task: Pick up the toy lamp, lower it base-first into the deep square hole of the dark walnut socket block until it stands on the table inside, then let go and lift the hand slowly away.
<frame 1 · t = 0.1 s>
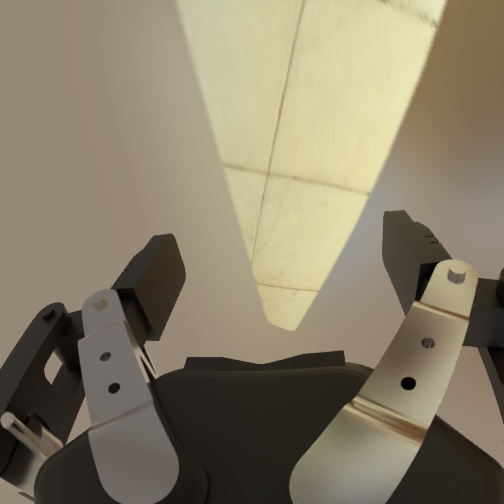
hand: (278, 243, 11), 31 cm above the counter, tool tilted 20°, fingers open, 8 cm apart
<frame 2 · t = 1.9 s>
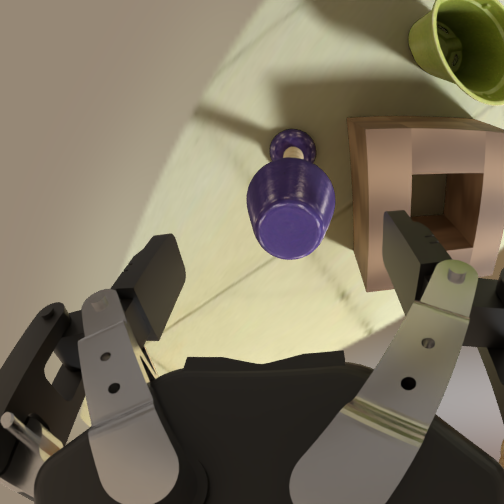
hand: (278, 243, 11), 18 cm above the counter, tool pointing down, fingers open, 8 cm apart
toy lamp: (290, 148, 27), on the counter
socket block: (417, 184, 27), on the counter
plant pot: (435, 48, 20), on the counter
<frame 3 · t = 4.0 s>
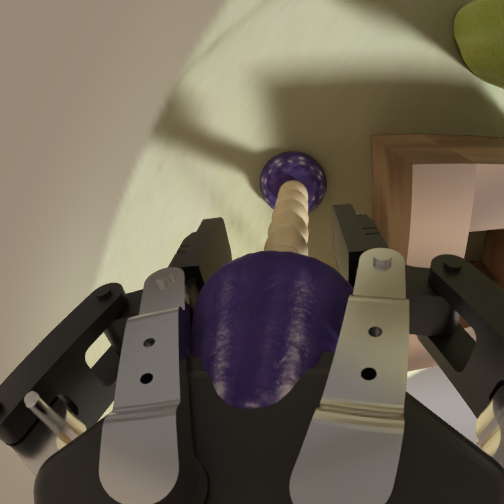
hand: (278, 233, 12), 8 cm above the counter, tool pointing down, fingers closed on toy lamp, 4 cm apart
toy lamp: (289, 178, 19), on the counter, touching gripper
socket block: (455, 226, 19), on the counter
plant pot: (485, 44, 12), on the counter
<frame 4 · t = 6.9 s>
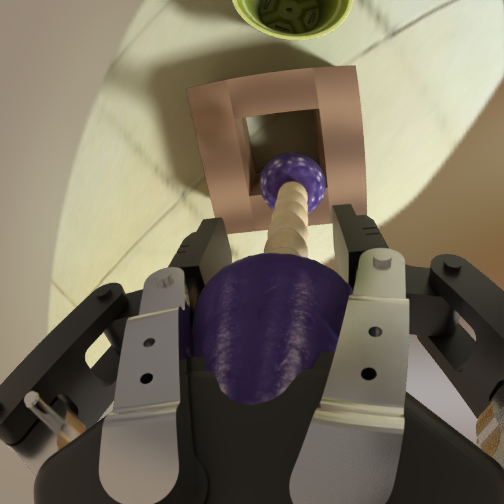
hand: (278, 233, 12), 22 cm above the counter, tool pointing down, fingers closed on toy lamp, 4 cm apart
toy lamp: (288, 179, 19), point 13 cm above the counter, touching gripper
socket block: (283, 138, 31), on the counter
plant pot: (290, 11, 23), on the counter
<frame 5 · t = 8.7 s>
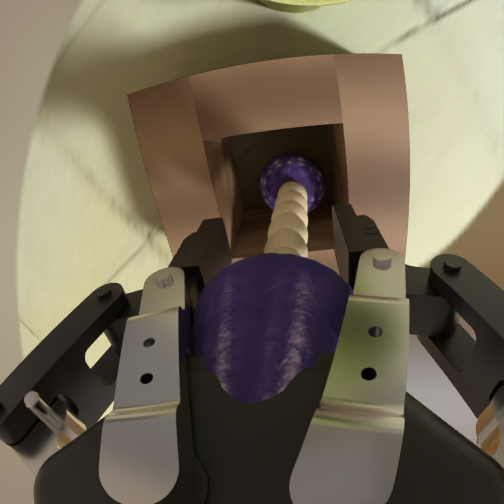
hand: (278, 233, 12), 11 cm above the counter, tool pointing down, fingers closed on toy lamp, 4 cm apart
toy lamp: (288, 179, 19), point 3 cm above the counter, touching gripper
socket block: (282, 162, 22), on the counter
when the fingers open (9 cm above the counter, at t = 10.1 s): toy lamp stays where it is, resting in socket block.
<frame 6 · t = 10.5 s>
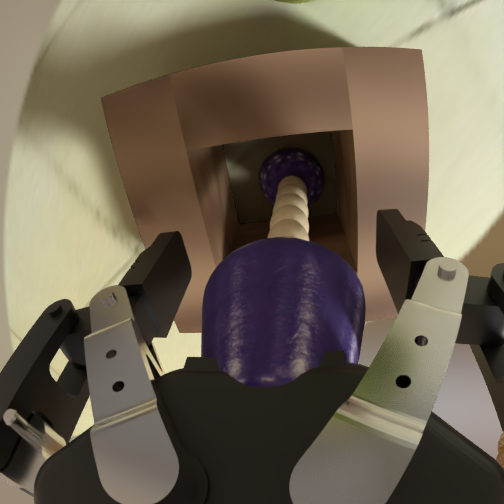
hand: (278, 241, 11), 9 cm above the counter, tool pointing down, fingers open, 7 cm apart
toy lamp: (287, 174, 20), resting in socket block
socket block: (281, 171, 20), on the counter
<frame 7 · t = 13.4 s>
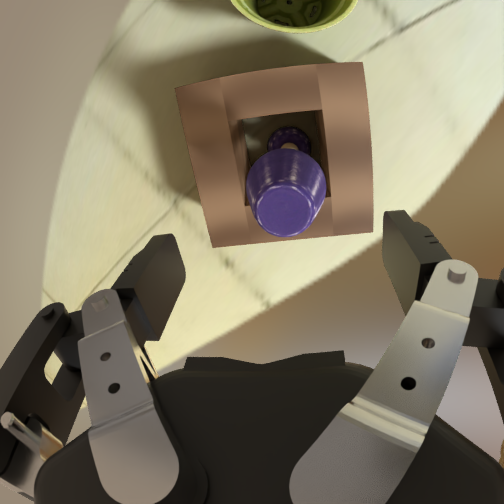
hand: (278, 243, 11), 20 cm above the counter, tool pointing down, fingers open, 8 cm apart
toy lamp: (286, 144, 29), resting in socket block
socket block: (282, 142, 28), on the counter
plant pot: (290, 4, 21), on the counter
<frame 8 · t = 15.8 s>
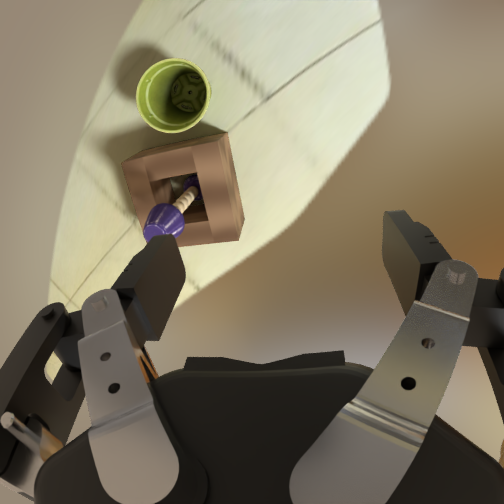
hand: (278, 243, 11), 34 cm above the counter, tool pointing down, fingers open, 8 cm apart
toy lamp: (195, 185, 47), resting in socket block
socket block: (192, 184, 46), on the counter
plant pot: (192, 92, 39), on the counter
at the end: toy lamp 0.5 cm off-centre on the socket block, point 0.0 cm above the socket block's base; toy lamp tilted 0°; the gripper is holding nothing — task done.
